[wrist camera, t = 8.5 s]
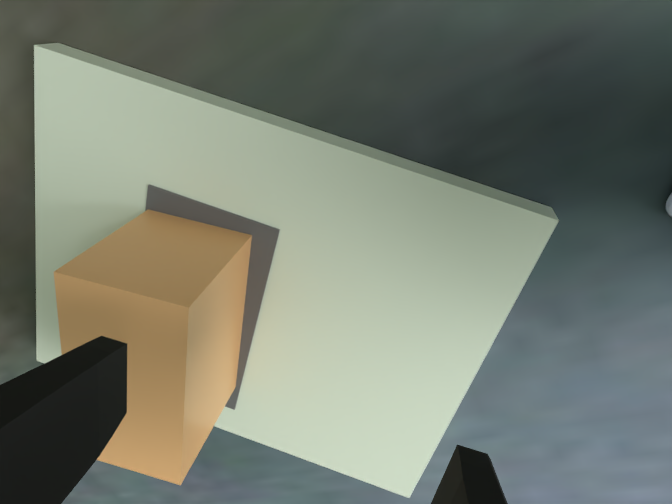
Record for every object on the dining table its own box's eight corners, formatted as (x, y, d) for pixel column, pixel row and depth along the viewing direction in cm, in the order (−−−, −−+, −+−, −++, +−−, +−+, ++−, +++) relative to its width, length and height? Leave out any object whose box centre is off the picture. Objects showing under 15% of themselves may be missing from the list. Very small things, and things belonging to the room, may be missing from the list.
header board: (551, 207, 17) (581, 262, 13) (410, 475, 23) (404, 563, 20) (58, 42, 18) (-45, 50, 14) (54, 345, 24) (-17, 405, 20)
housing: (252, 235, 18) (188, 307, 14) (235, 386, 21) (180, 485, 17) (148, 209, 18) (53, 271, 14) (147, 362, 22) (71, 452, 17)
